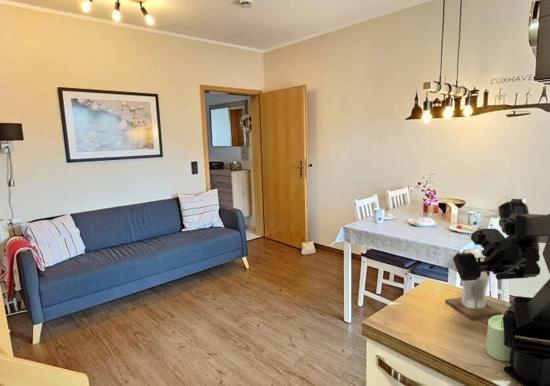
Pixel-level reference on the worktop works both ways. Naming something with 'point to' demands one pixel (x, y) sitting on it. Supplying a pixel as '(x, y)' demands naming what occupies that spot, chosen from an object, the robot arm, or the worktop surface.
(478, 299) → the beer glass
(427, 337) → the worktop surface
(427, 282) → the worktop surface
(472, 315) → the walnut board
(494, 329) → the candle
